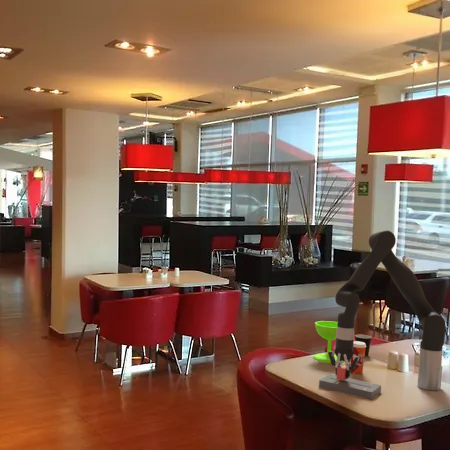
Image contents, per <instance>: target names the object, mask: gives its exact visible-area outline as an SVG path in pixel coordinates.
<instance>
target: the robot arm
mask: <svg viewBox="0 0 450 450" xmlns="http://www.w3.org/2000/svg"><path fill="white" fill-rule="evenodd" d="M396 239H397V238H396V235H395V234H394V233H393V231H390V230H385V229H384V230H380V231H378V232H377V231H376V232H374V233H371V235H370V236H369V238H368V245H369V247H370V249H371V251H370V252H369V254H368V255H367V256H366V257H365V258H364V259H363V260H362V262H361V263H360V264H359V265H358V266H356V267H357V268H356V269H354V272H353V274H352V275H351V277H350V279H348V281H346V283H344V284H343V285H342V287H340V288H339V289H338V291H337V292H336V294H335V297H334V298H335V303H336V304H337V305H338V306H339V307H343V308H345V310H344V312H343V311H342V312H339V313H338V314H337V315H338V316H337V322H338V323H337V331H336V340H335V344H334V345H335V348H334V350H331V351H330V352H328V354H329V358H330V361H331V366H333V367H335V371H334V375H336V376H337V367H339V366H341V365H342V363H341V361H344V362H343V363H344V364H345V365H344V366H346V369H347V370H346V379H348V378H351V370H353V369H354V368H355V367H356V365H357V363H358V361H359V359H360V357H359V356H356V355H354V352H353V345H354V341H355V318H356V315H357V312H358V310H359V306H360V301H361V300H360V296H359V295H358V293H356V292H361V291H363V290H364V289H365V287H366V286H367V283H369V281H370V278H371V277H372V276H373V274H374V272H375V271H376V269H377V268H378V266H380V264H381V263H382V265H383V266H384V268H385V269H386V271H387V273H388V274H389V276H390V278H391V279H392V281H393V282H394V285H395V286H396V288H397V289H398V290H399V292H400V293H401V295H402V297H403V298H404V299H405V300H406V302H407V303H408V304H409V306H410V307H411V308H412V310H413V311H414V313H415V316H416V317H417V320H418V321H419V324H420V326H421V327H422V329H423V330H422V338H421V339H422V340H421V341H420V343H419V344H420V345H419V359H418V360H419V361H418V371H417V372H418V373H417V387H418V388H419V389H422V388H423V390H426V389H427V390H426V391H435V390H437V391H436V392H438V391H440V389H441V388H442V377H443V376H442V375H443V374H442V373H443V366H442V360H443V359H442V358H443V346H444V344H445V341H446V340H445V338H446V330H447V329H446V326H447V325H446V320H445V318H444V317H443V316H442V315H440V314H439V313H438V312H437V311H435V309H434V308H433V307H432V306H431V304H430V303H429V302H428V300H427V298H426V296H425V293H424V290H423V287H422V284H421V283H420V281H419V280H418V278H417V276H416V275H415V273H414V272H413V270H412V269H411V268H410V267H409V266H407V265H406V264H405V263H403V262H402V261H401V259H399V257H397V256H396V254H395V253H394V252H393V249H394V247H395V245H396V243H397V242H396ZM334 355H336V356H337V360H336V361H335V357H334ZM352 357H353V360H354V361H353V363H352V366H351V361H350V359H351V358H352Z"/></svg>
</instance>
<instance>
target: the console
mask: <svg viewBox="0 0 450 450" xmlns="http://www.w3.org/2000/svg"><path fill="white" fill-rule="evenodd" d="M336 378H337V376H336V374H333V373H329V374H327V375H326V376H324V377H322V378H320V379H318V387H319V388H322V389H326V390H330V391H334V392H339V393H341V394H343V393H344V394H347V395H351V396H355V397H360V398H362V399H363V398H364V399H368V400H373V399H374V398H376V397H377V396H378V395H379V394H381V392H382V385H381V384H377V383H373V382H367V381H365V380H359V379H355V378H351V377H349V378H348V379H346V380H345V381H343V380H338V379H336Z"/></svg>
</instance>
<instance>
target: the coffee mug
mask: <svg viewBox="0 0 450 450" xmlns="http://www.w3.org/2000/svg"><path fill="white" fill-rule="evenodd" d="M354 341H359V342H364V343H365V344H366V349H365V357H364V358H366V357H369V354H370V353H369V352H370V348H371V343H372V342H371V341H372V336H371V335H367V334H354Z"/></svg>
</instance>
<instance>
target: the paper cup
mask: <svg viewBox="0 0 450 450" xmlns="http://www.w3.org/2000/svg"><path fill="white" fill-rule="evenodd" d="M365 349H366V344H365V343H364V342H359V341H355V340H354V345H353V352H354V355H356V356H359V357H360V359H359V361H358V363H357V365H356V367H355V368H354V369H353V370H351V371H350V373H352V374H354V375H355V374H356V375H357V374H358V375H361V374H363V370H364V366H365V364H364V363H365V358H366V357H365ZM350 361H351V366H352V363H353V361H354V360H353V357H352V358H351V359H350Z"/></svg>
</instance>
